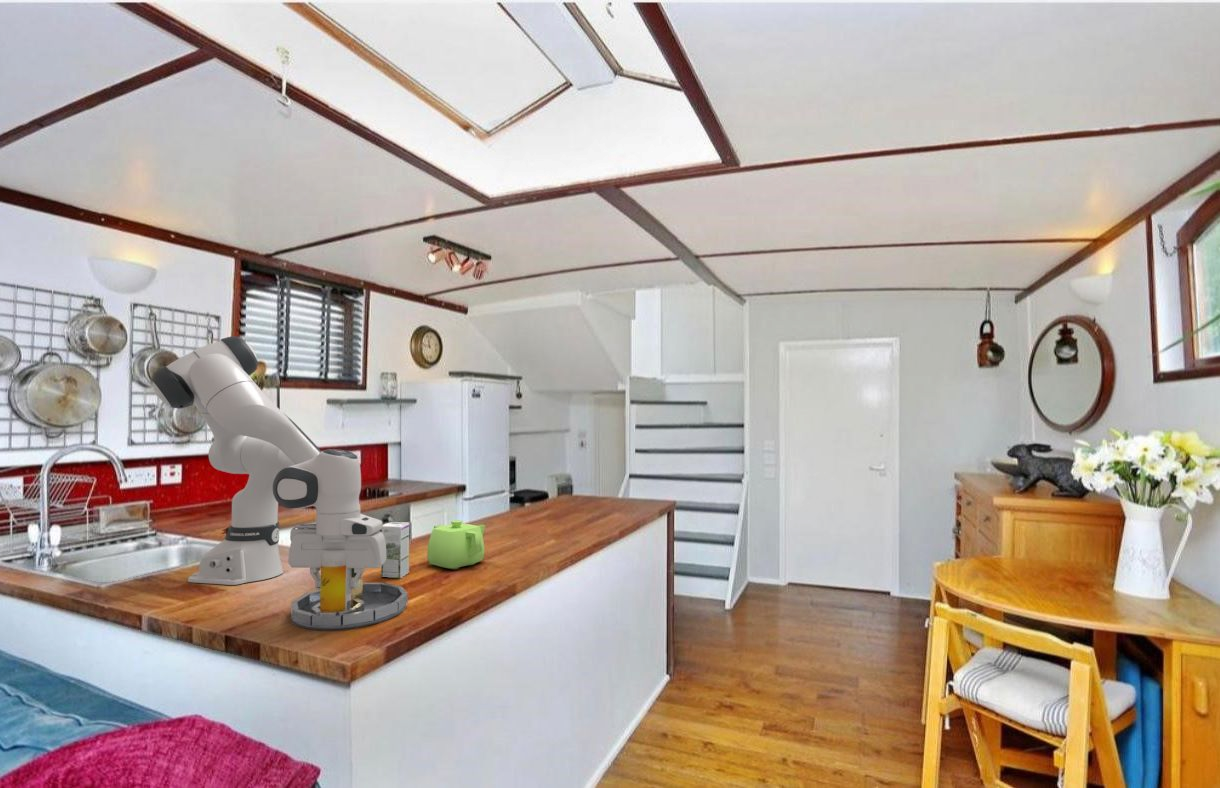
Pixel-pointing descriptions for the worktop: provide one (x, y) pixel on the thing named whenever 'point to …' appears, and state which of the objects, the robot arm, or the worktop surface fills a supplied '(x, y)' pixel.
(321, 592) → the beer can
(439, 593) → the worktop surface
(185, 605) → the worktop surface
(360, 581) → the tray
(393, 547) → the syrup box
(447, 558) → the teapot
